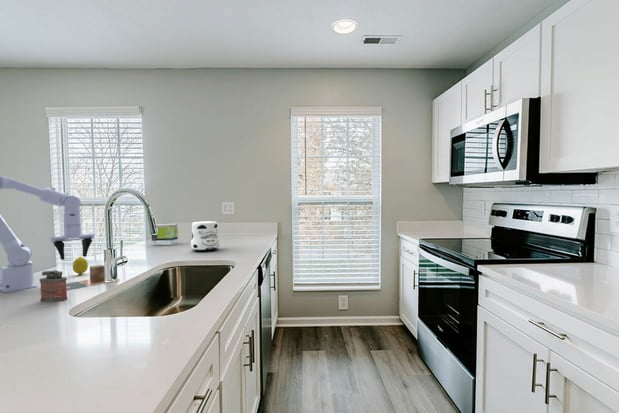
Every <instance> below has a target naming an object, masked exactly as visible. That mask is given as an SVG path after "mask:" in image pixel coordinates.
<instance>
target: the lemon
mask: <svg viewBox="0 0 619 413" xmlns="http://www.w3.org/2000/svg"><path fill="white" fill-rule="evenodd" d="M88 267H89V264H88V261H87V259H86V258H84V257H83V256H82V257H81V256H79V257H78V258H76V259H75V260H74V261H73V262H72V270H73V272H74V273H76V274H78V275H83V274H84V273H85V272H87V270H88Z"/></svg>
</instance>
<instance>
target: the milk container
mask: <svg viewBox="0 0 619 413" xmlns="http://www.w3.org/2000/svg"><path fill="white" fill-rule="evenodd" d="M218 229H219V228H218V222H217V221H214V220H213V221H212V220H211V221H210V220H209V221H206V220H204V221H194V222H192V224H191V241H190V249H191V250H192V251H195V252H209V251H215V250H217V249H218V248H219V247H220V238H219V235H218V233H219V230H218Z"/></svg>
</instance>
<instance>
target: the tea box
mask: <svg viewBox="0 0 619 413" xmlns="http://www.w3.org/2000/svg"><path fill="white" fill-rule="evenodd" d="M156 225H157V228H158V234H157V235H152V234H151V246H174V245H177V244H179V238H178V237H179V234H178V233H179V232H178V224H177V223H161V224H160V223H159V224H156Z"/></svg>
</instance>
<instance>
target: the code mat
mask: <svg viewBox="0 0 619 413" xmlns="http://www.w3.org/2000/svg"><path fill="white" fill-rule="evenodd" d="M86 287H87V288H88V287H89V285H87V284H84V283H82V282H80V281H74V282H68V283H67V282H66V289H67V291H73V290H76V289H81V288H86ZM39 289H40V290H41V287H40V288H39Z"/></svg>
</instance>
